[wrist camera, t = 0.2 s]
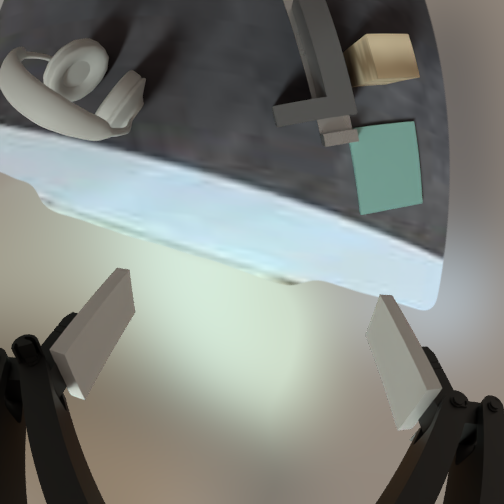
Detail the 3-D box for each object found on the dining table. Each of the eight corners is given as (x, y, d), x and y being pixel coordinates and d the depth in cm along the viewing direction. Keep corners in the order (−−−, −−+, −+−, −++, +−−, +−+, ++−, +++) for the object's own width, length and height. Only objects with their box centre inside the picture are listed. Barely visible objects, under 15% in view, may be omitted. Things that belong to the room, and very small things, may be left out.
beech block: (342, 52, 31) (366, 34, 22) (377, 50, 30) (408, 34, 21) (351, 87, 33) (378, 78, 24) (385, 84, 32) (419, 77, 23)
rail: (256, -67, 22) (255, -75, 20) (286, -71, 21) (287, -79, 19) (322, 145, 36) (325, 146, 34) (353, 139, 36) (359, 141, 33)
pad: (346, 128, 35) (347, 129, 35) (412, 121, 34) (413, 121, 33) (360, 213, 40) (361, 214, 39) (420, 201, 38) (422, 203, 38)
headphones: (180, 102, 35) (103, 93, 17) (139, 153, 38) (48, 188, 20) (95, 35, 30) (1, 9, 12) (61, 83, 33) (-37, 87, 15)
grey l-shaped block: (245, 16, 29) (241, -1, 23) (313, 5, 27) (321, -12, 22) (276, 126, 35) (277, 127, 30) (344, 114, 34) (357, 113, 29)
